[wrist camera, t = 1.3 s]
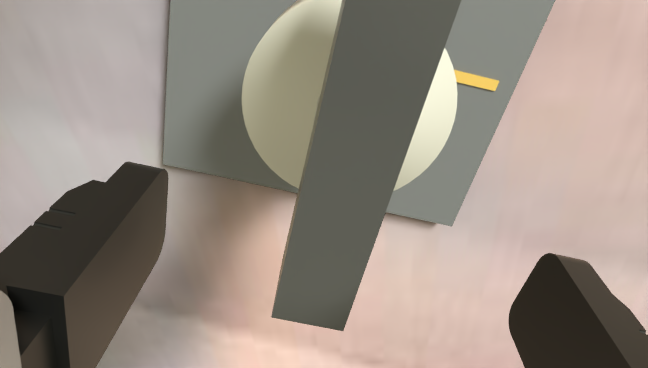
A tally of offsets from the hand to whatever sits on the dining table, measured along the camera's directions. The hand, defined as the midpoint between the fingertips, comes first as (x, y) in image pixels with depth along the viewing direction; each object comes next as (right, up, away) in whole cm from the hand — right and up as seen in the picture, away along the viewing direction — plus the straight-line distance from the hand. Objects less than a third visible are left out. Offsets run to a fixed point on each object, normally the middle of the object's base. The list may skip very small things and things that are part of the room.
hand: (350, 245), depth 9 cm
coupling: (0, +6, +10) cm, 11 cm away
